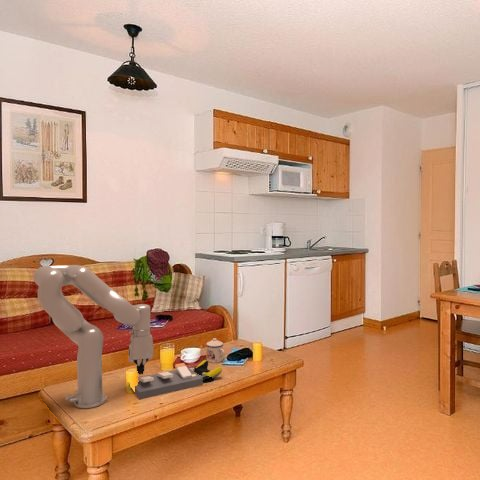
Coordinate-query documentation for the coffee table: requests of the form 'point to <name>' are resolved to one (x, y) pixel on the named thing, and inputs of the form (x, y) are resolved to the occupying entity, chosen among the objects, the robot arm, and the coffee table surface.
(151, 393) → the switch panel
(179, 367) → the rocker right
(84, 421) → the coffee table surface
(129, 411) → the coffee table surface
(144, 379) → the rocker left
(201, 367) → the yellow black spring clamp
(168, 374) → the rocker middle
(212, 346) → the teacup with lid
